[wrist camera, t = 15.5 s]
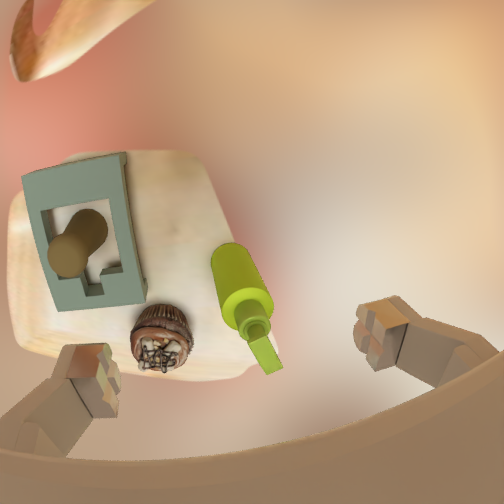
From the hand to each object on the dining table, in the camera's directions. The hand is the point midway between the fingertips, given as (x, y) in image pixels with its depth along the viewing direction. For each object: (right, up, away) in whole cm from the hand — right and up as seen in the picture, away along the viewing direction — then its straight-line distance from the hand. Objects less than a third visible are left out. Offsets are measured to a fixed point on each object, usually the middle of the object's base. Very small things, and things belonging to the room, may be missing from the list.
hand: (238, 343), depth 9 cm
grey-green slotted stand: (-22, +6, +30) cm, 38 cm away
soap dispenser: (-3, +1, +37) cm, 37 cm away
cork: (-23, +6, +30) cm, 38 cm away
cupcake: (-14, -9, +39) cm, 42 cm away
